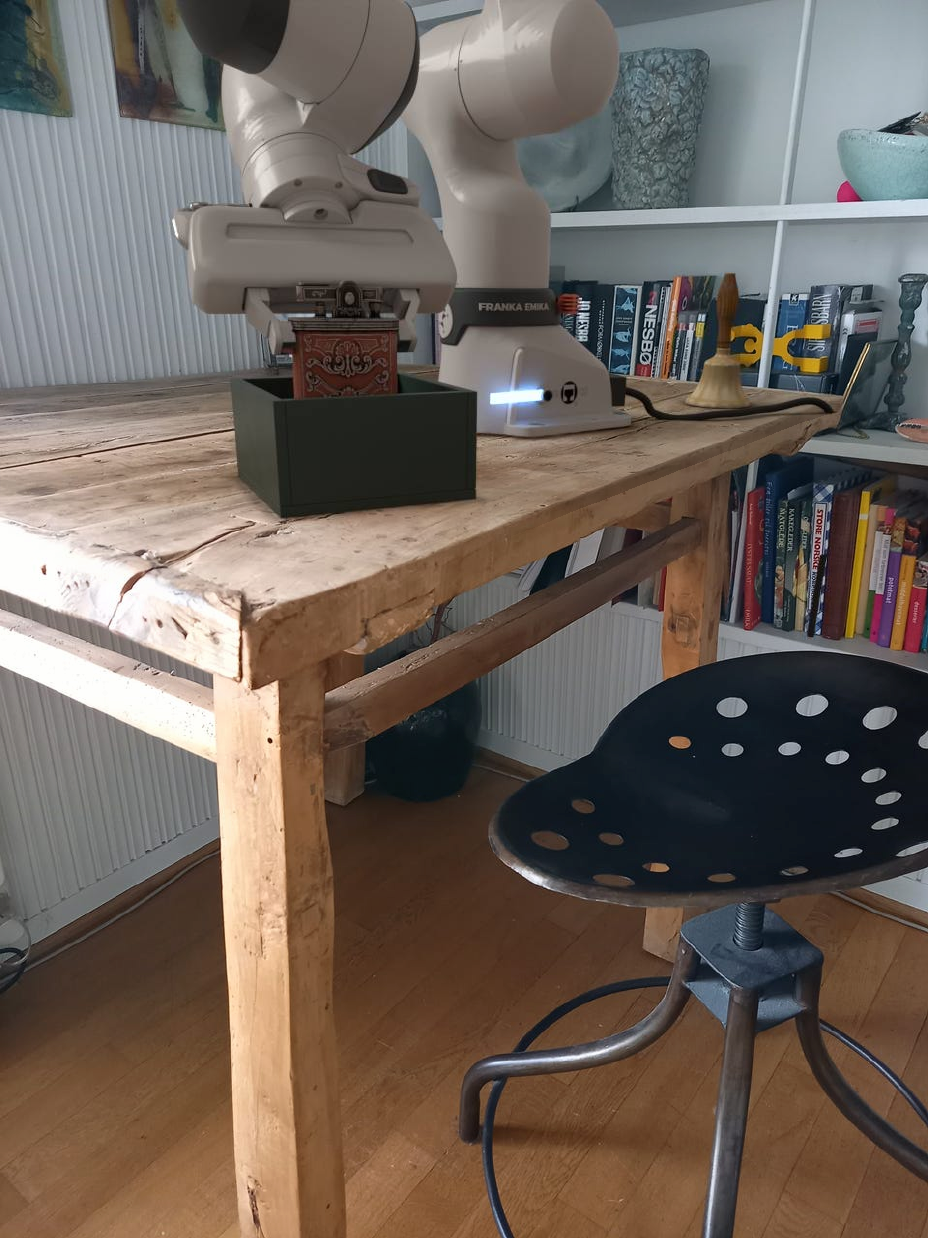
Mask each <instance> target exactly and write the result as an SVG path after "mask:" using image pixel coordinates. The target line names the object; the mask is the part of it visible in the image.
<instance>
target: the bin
mask: <svg viewBox="0 0 928 1238" xmlns="http://www.w3.org/2000/svg"><path fill="white" fill-rule="evenodd" d="M397 381H398V394H383V395H361V396H340V397H318V398H297V399H294V383H293V375H287V376H262V377H261V376H259V377H258V376H257V377H241V378H240V377H231V378H230V379H229V382H230V395H231V407H232V408H231V409H232V417H233V418H232V419H233V431H234V443H235V453H236V466H237V477H238V478H239V479H240V480H241V481H242V482H243V483H244V484H245V485H246V486H247V487H248V488H249V489H250V490H251V491H252V492H253V493H254V494H255V495H256V496H257V497H258V498H259V499H260V500H261V501H263V503H264V504H265V505H267V507H268V508H270V509H271V510H272V512H274V514H276V516H278V517H279V518H280V519H291V518H300V517H311V516H321V515H332V514H341V513H342V514H343V513H352V512H361V511H362V512H363V511H371V510H373V511H374V510H382V509H391V508H403V507H412V506H422V505H432V504H433V505H434V504H442V503H452V502H464V501H472V500H476V499H477V453H478V452H477V449H478V447H477V445H478V444H477V443H478V433H477V392H476V391H473V390H469V389H465V388H462V387H458V386H454V385H450V384H447V383H443V382H439V381H438V380H435V379H432V378H427V377H424V376H421V375H417V374H412V373H409V372H405V371H399V372H398V371H397Z"/></svg>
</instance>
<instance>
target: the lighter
mask: <svg viewBox="0 0 928 1238" xmlns="http://www.w3.org/2000/svg"><path fill="white" fill-rule="evenodd" d="M296 296H297V301H316V306H314V309H315V314H314V316H292V317H291V316H290V317H287V321H291V322H292V326H293V332H294V333H295V337H296V346H295V348H294V354H293V355H291V361H292V362H291V363H292V376H293V383H294V399H297V398H318V397H340V396H361V395H383V394H398V381H397V372H398V353H397V329H399V318H396V317H389V316H388V317H383V316H381V314H380V310H381V307H382V287H358V285H357V284H356V282H354V281H342V282H341V283H340V284H339V286H338V287H330V283H299V286H296ZM324 301H335V307H334V308H333V309H332V314H331V316H327V314H326V306H324ZM363 301H369V309H370V312H371V314H370V316H368V314H367V311H366V309H364V308H363Z"/></svg>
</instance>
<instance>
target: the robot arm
mask: <svg viewBox="0 0 928 1238" xmlns="http://www.w3.org/2000/svg"><path fill="white" fill-rule="evenodd" d="M174 3H175V6H176V9H177V11H178V15H179V16H180V19H181V21H182V23H183V26H184V28H185V30H186V32H187V33H188V36H189V37H190V39H191V41H192V43H193V44H194V46H195V48H196V49H197V50H198V52H199V53H200V54H201V55H203V56H205V57H207V58H210V59H212V60H214V61H216V62H219V63H221V64H223V67H222V74H221V107H222V115H223V116H222V117H223V121H224V127H225V132H226V135H227V140H228V144H229V148H230V152H231V155H232V157H233V160H234V162H235V165H236V166H237V168H238V169H239V171H240V184H241V185H240V187H241V192H242V195H243V199H244V202H245V203H237V202H234V203H233V202H226V203H223V202H222V203H209V202H206V201H193V202H190V203H189V206H186V207H183V208H180V209H178V210H177V211H175V212H174V214H173V216H172V219H171V221H172V223H171V224H172V227H173V232H174V237H175V240H176V241H177V243H178V244H179V246H181V248H183V249H184V250H185V251H187V281H188V289H189V296H190V300H191V303H192V304H193V305H194V306H195V307H197V309H199V310H200V311H201V312H203V313H204V314H205V315H206V314H207V315H245V316H246V319H247V323H248V324H249V325H251V326H252V327H253V328H254V329H255V330H256V331H257V332H258V333H259V334H260V335H262V336H263V337H264V338H265V339H267V340H268V343H269V344H268V345H269V348H270V352H271V355H272V356H288V355H289V356H292V355H293V354H294V348H295V346H296V337H295V333H294V332H293V326H292V322H291V321H288V320H280V319H279V318H278V317H277V315H315V309H314V306H316V301H297V296H296V286H299V283H330V287H338V286H339V284H340V283H341V282H342V281H354V282H356V284H357V285H358V287H382V307H381V310H380V315H381V314H387V315H388V314H390V315H391V314H394V316H395V317H394V318H399V329H397V354H399V353H401V354H402V353H404V354H405V353H414V352H415V349H416V346H417V344H418V339H419V338H418V333H417V330H416V327H415V324H414V321H415V318H416V315H417V314H438V317H437V318H438V319H437V320H438V331H439V333H438V334H439V342H440V344H441V351H440V360H439V361H440V362H439V371H438V378H437V381H439V382H443V383H447V384H450V385H454V386H458V387H462V388H465V389H469V390H473V391H476V392H477V434H491V435H494V434H495V435H505V436H514V437H522V438H523V437H524V438H526V437H527V438H536V437H544V436H553V435H562V434H571V433H577V432H587V431H597V430H603V429H612V428H621V427H628V426H631V425H632V417H631V415H630V414H629V413H627V412H625V411H622V410H620V409H616V408H613V407H625V406H626V396H628V397H631V398H634V399H636V400H638V401H639V402H640V403H641V404H642V406H643V408H644V411H645V412H646V413H647V414H648V415H649V416H650V417H651V418H653V419H657V420H659V421H683V422H684V421H686V422H689V421H690V422H691V421H693V422H696V421H697V422H698V421H699V422H701V421H706V420H716V419H729V418H730V419H731V418H741V417H748V416H753V415H760V414H769V413H778V412H782V411H785V410H790V409H793V408H796V407H801V406H808V405H809V406H815V407H818V408H819V409H820V410H822V411H823V412H824V413H826V414H835V410H834V409H833V407H832V406H831V405H830V404H829V403H828V402H827V401H825V400H823V399H821V398H820V397H815V396H814V397H813V396H808V397H807V396H806V397H800V398H799V397H798V398H795V399H791V400H787V401H783V402H780V403H774V404H767V405H757V406H756V405H755V406H749V407H744V408H734V409H720V410H719V409H718V410H711V411H703V412H696V413H687V414H672V413H666V412H663V411H661V410H658V409H656V408H655V407H654V406H653V403H652V401H651V399H650V398H649V397H648V396H647V395H646V394H645V393H643V392H642V391H639V390H638V389H635V388H632V387H628V386H627V381H628V380H627V379H628V378H627V376H623V375H619V374H615V373H612V372H609V371H608V369H607V367H606V365H605V364H604V363H603V362H602V361H601V360H600V359H599V358H598V357H597V356H595V355H594V354H593V353H592V351H591V352H590V350H589V349H588V348H587V347H585V345H583V344H582V343H581V342H579V340H577V338H576V337H574V336H573V334H571V333H570V332H569V331H568V330H566V329H565V328H564V327H563V325H562V323H563V319H562V316H561V314H565V315H566V314H568V315H577V314H578V313H579V312H580V311H579V310H581V309H582V307H581V306H583V303H582V299H581V298H580V295H579V294H576V293H570V294H569V293H563V294H562V295H560V296H559V295H558V294H557V293H556V292H555V291H553V290H552V289H551V288H549V287H550V264H551V263H550V260H551V235H552V233H551V232H552V213H551V209H550V207H549V204H548V203H547V200H546V199H545V197H543V195H542V194H541V193H540V192H539V191H537V189H535V188H533V187H532V186H530V185H529V183H528V182H527V180H526V179H525V176H524V173H523V171H522V168H521V164H520V161H519V156H518V148H517V144H518V143H517V140H518V139H522V138H530V137H537V136H543V135H545V136H546V135H550V134H552V135H553V134H557V133H560V132H563V131H565V130H567V129H569V128H572V127H574V126H576V125H578V124H581V123H583V122H585V121H587V120H590V119H591V118H594V117H596V116H597V115H598V114H600V113H601V112H602V111H603V110H604V109H605V108H606V106H607V104H608V103H609V101H610V99H611V98H612V95H613V93H614V90H615V88H616V86H617V85H616V84H617V81H618V77H619V70H620V47H619V41H618V36H617V33H616V31H615V28H614V25H613V22H612V21H611V18H610V17H609V15H608V13H607V11H605V9H604V8H603V7H602V6H601V5H600V3H598V2H597V1H596V0H484V2H483V7H482V10H481V12H480V13H477V14H472V15H469V16H466V17H462V18H458V19H455V20H451V21H447V22H444V23H441V24H438V25H437V26H435V27H433V28H432V29H430V30H429V31H427V32H425V33H424V34H422V35H421V36H420V33H419V27H418V23H417V19H416V16H415V13H414V11H413V9H412V6H411V5H410V4H409V3H408V2H407V1H406V0H174ZM399 118H400V119H401V121H402V122H403V124H404V126H405V127H406V128H407V130H408V131H409V132H410V133H411V134H412V135H413V136H414V137H415V138H416V139H417V141H418V142H419V143H420V145H421V147H422V148H423V150H424V152H425V154H426V156H427V160H428V162H429V165H430V168H431V170H432V173H433V176H434V181H435V184H436V187H437V193H438V197H439V202H440V210H441V223H442V232H441V230H440V228H439V226H438V224H437V222H436V221H435V220H434V219H433V218H432V217H431V216H430V214H428V213H427V212H426V211H425V210H423V209H422V208H420V201H421V191H420V188H419V185H418V184H417V183H416V181H414V180H412V179H411V178H409V177H405V176H403V175H398V174H395V173H392V172H389V171H385V170H382V169H380V168H377V167H374V166H372V165H369V164H366V163H364V162H362V161H360V160H358V159H356V158H354V157H352V156H354V155H356V154H358V153H360V152H361V151H363V150H364V149H365V148H367V147H368V146H370V145H371V144H372V143H373V142H375V141H376V140H377V139H379V137H381V135H383V134H384V133H386V131H388V130H389V129H390V128H391V127H392V126H393V125H394V124H395V123H396V122H397V121H398V120H399ZM350 155H351V156H350ZM324 306H326V315H327V314H328V315H332V309H333V308H334V307H335V301H324ZM578 306H579V307H578ZM363 308H364V309H366V311H367V315H368V314H369V315H371V312H370V309H369V301H363ZM827 559H828V553H823V554H819V557H818V563H817V568H816V575H815V580H814V585H813V592H812V598H811V604H810V610H809V611H810V612H809V615H808V616H809V617H808V626H807V633H806V637H807V638H814V637H815V632H816V624H817V617H818V611H819V605H820V599H821V593H822V586H823V583H824V582H823V581H824V575H825V569H826V566H827V565H826V564H827Z"/></svg>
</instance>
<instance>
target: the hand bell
mask: <svg viewBox="0 0 928 1238" xmlns="http://www.w3.org/2000/svg"><path fill="white" fill-rule="evenodd" d="M736 277H737V276H736V272H726V273H724V275H723V279H722V282H721V284H720V287H719V289H718V293H717V297H716V315H717V320H718V333H717V334H718V335H717V343H716V353H715V355H714V356H713V357H710V358H709V359H706V360H705V361H704V363H703V368H702V372H701V376H700V378H699V382H698V383H697V385H696V387H695V389H694V391H693V392H692V393H691V394H690V395H688V397H687V398H685V401H684V403H685V404H687V405H688V406H693V407H697V408H698V407H699V408H705V409H706V408H707V409H743V408H750V407H752V402H751V400H750V398H748V396H747V395H746V393H745V392H744V388H743V384H742V380H741V363H740V361H738V360H737V359H735V358H734V357H733V356H732V355H731V341H732V327H733V323H734V320H735V318H736V314H737V311H738V307H739V298H740V297H739V296H740V295H739V287H738V283H737V278H736Z"/></svg>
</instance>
